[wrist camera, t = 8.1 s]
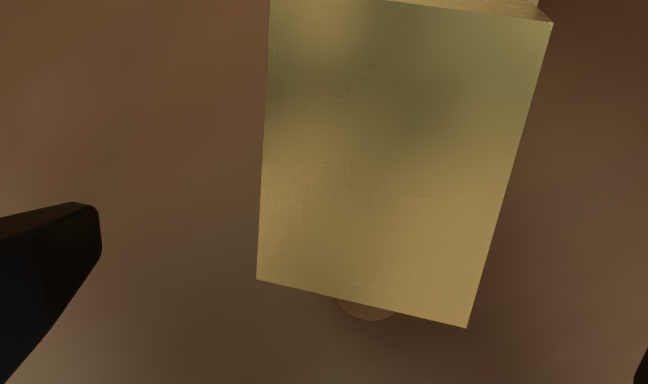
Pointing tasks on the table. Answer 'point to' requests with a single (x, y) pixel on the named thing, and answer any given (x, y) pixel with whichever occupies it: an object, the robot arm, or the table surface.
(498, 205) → the tan rectangular block
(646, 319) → the table surface
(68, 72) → the table surface
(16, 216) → the robot arm
